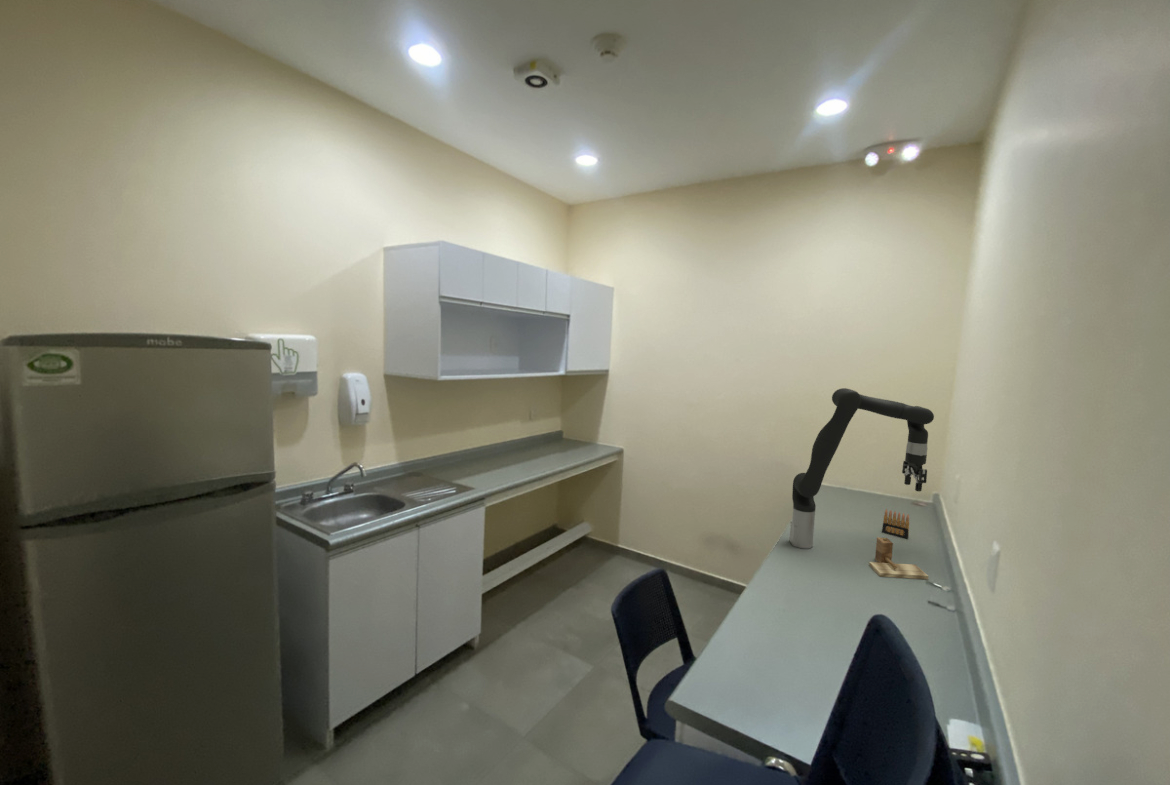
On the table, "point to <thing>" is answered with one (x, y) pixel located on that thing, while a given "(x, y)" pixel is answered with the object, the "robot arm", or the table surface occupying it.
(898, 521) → the ammunition clip
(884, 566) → the board
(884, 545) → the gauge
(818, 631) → the table surface
